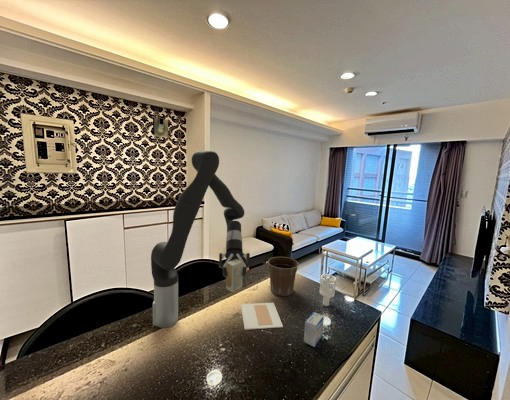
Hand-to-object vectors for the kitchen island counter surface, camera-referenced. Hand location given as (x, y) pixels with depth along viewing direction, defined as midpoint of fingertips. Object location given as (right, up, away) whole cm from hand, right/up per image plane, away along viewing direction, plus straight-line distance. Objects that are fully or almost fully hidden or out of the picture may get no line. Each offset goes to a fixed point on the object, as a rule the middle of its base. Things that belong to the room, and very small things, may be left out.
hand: (234, 276), depth 98 cm
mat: (+11, -18, +3) cm, 22 cm away
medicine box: (+31, -21, -9) cm, 39 cm away
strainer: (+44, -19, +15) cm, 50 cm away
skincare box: (-1, -6, +2) cm, 6 cm away
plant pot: (+23, -16, +25) cm, 38 cm away
